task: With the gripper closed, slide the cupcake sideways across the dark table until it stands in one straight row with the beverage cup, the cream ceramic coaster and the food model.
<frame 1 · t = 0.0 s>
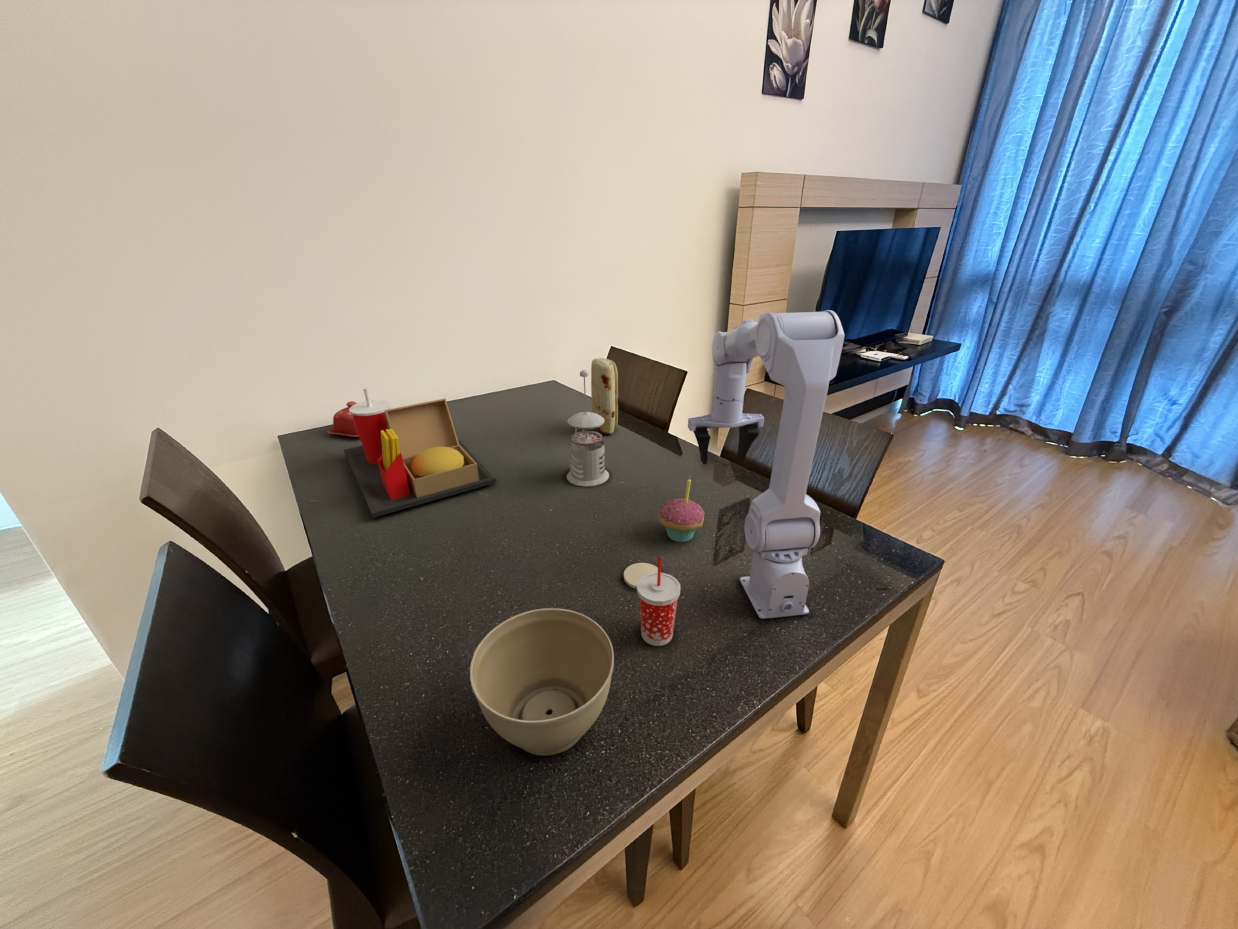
hand: (722, 460, 105), 10 cm above the table, tool pointing down, fingers open, 7 cm apart
food model: (605, 431, 144), on the table
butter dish: (358, 431, 144), on the table
fast food meal: (416, 471, 124), on the table
coaster: (642, 577, 89), on the table
beverage cup: (656, 635, 78), on the table
french press: (587, 474, 122), on the table
planter bowl: (549, 722, 65), on the table
cupcake: (680, 536, 100), on the table
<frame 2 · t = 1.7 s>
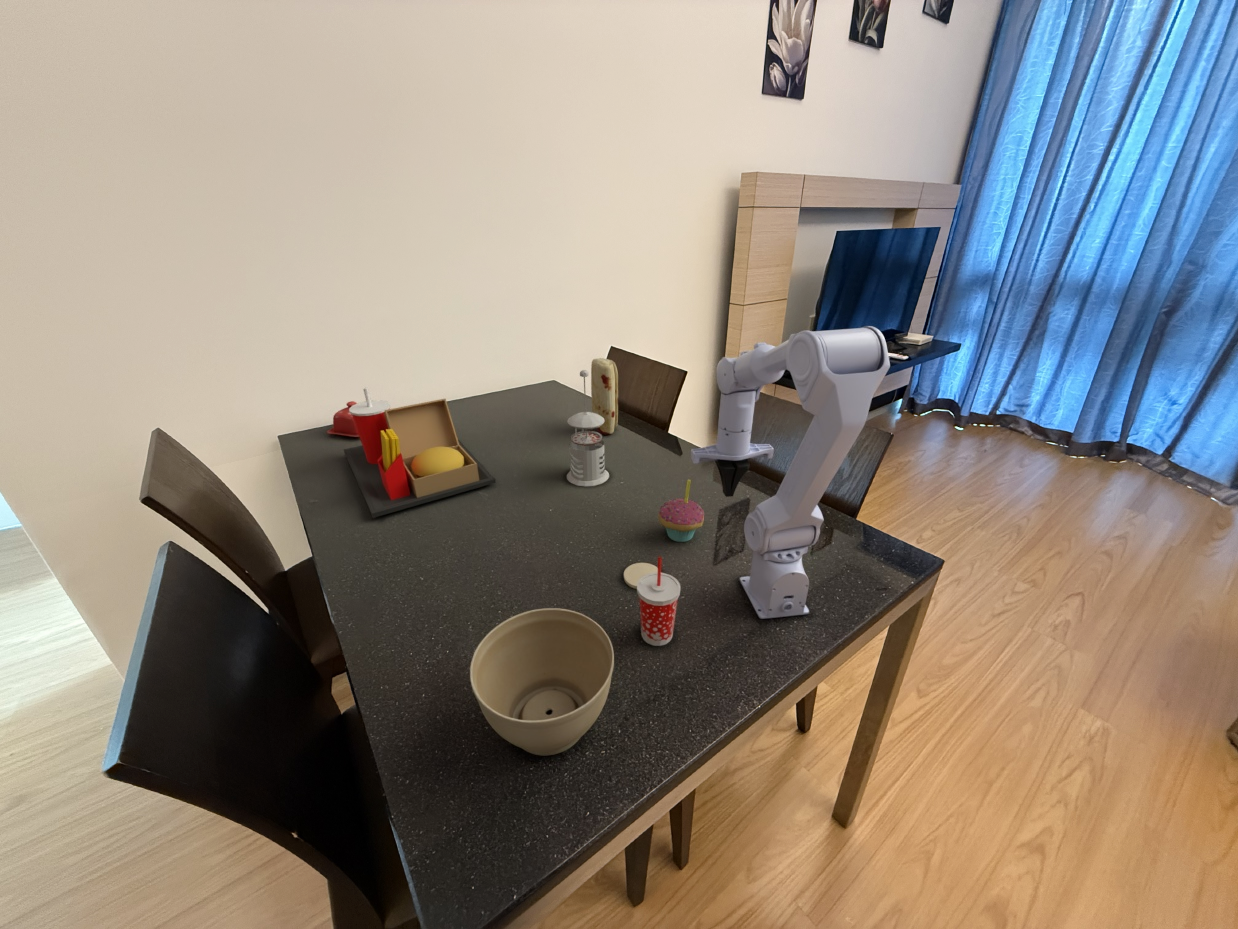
hand: (727, 494, 97), 8 cm above the table, tool pointing down, fingers closed
nothing on the table moved.
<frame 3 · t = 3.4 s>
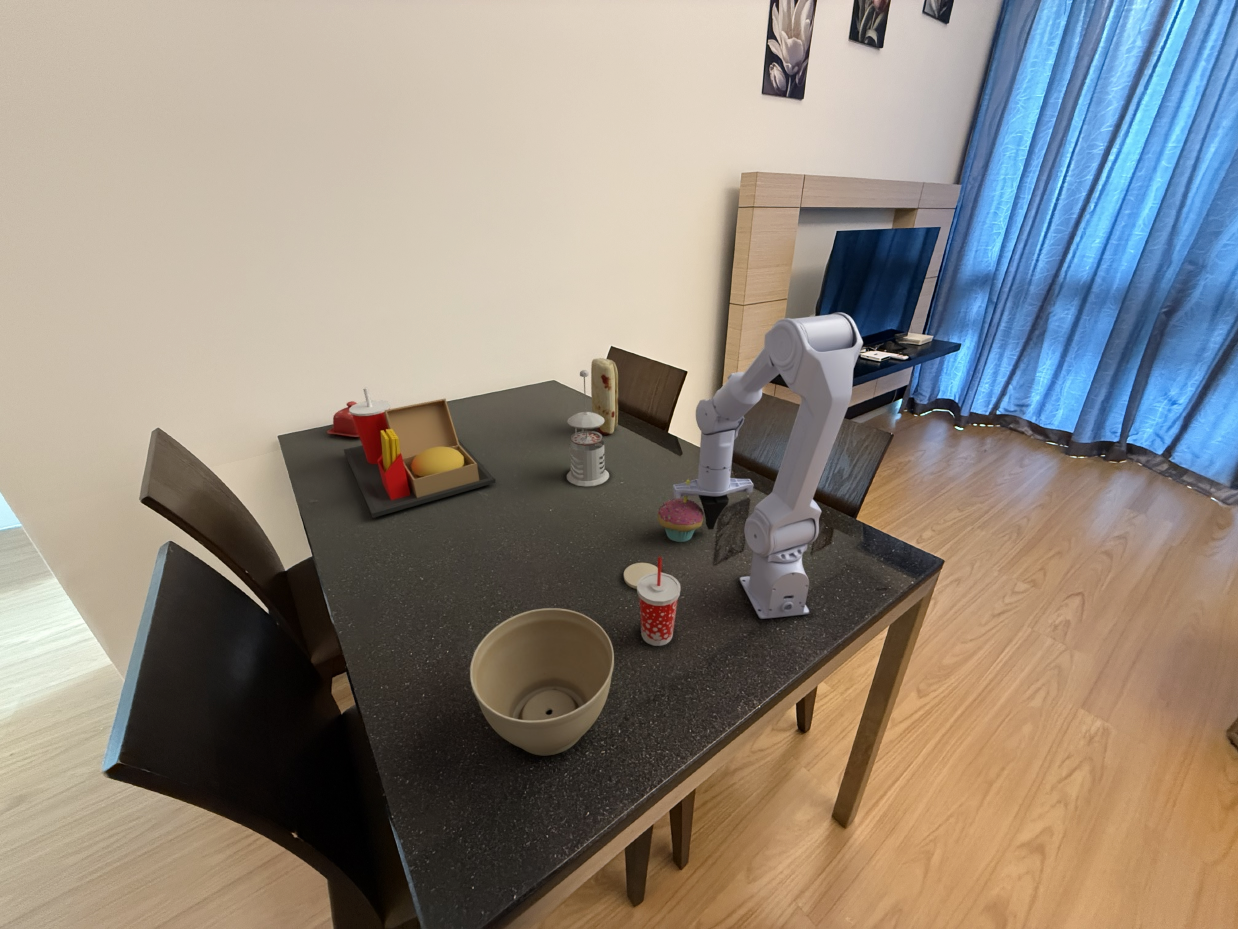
hand: (709, 526, 100), 1 cm above the table, tool pointing down, fingers closed
cupcake: (679, 536, 100), on the table, touching gripper
everything else where it was.
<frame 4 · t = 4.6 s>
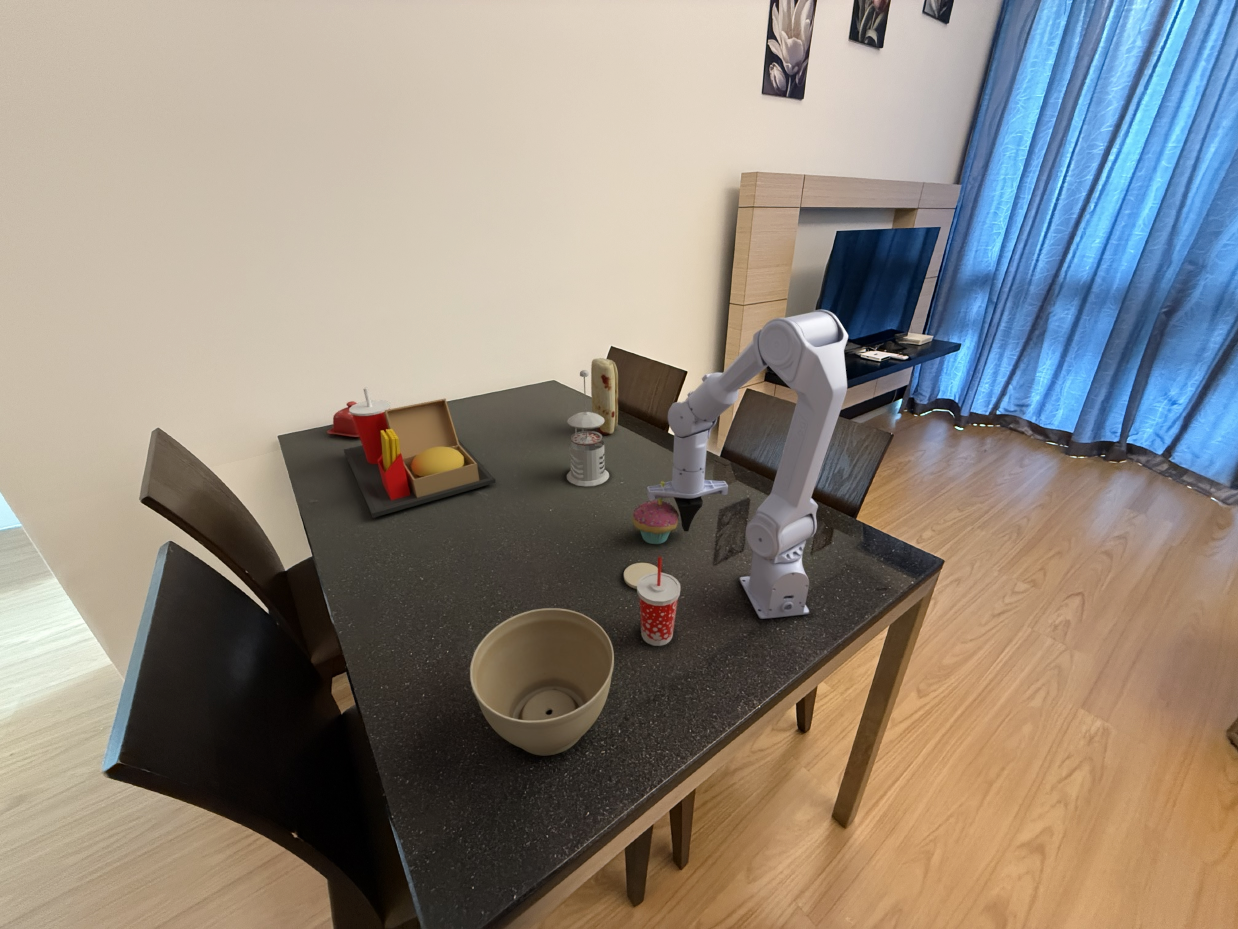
hand: (685, 528, 99), 1 cm above the table, tool pointing down, fingers closed
cupcake: (655, 538, 99), on the table, touching gripper
everything else where it was.
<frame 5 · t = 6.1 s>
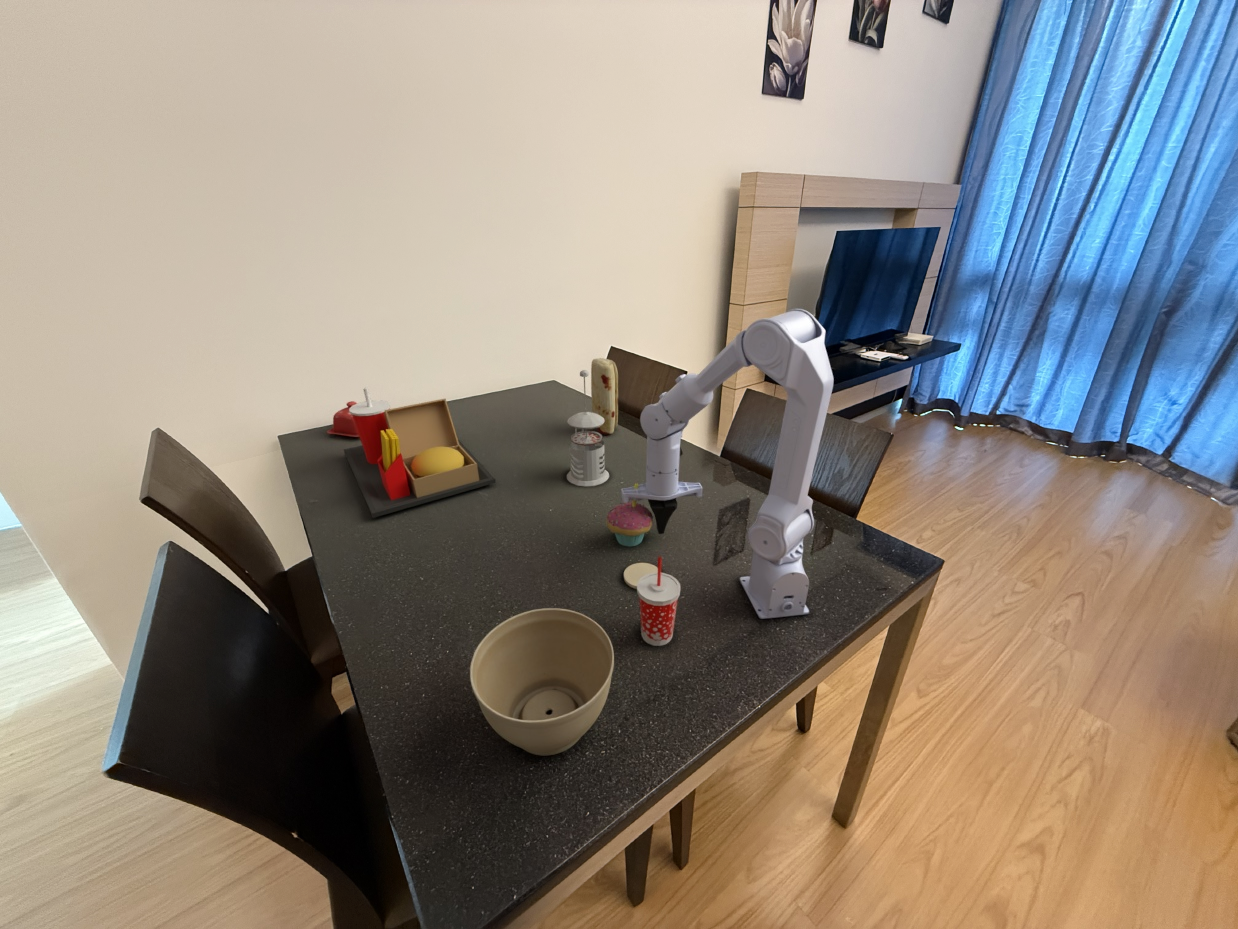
hand: (660, 530, 99), 1 cm above the table, tool pointing down, fingers closed
cupcake: (629, 540, 99), on the table, touching gripper
everything else where it was.
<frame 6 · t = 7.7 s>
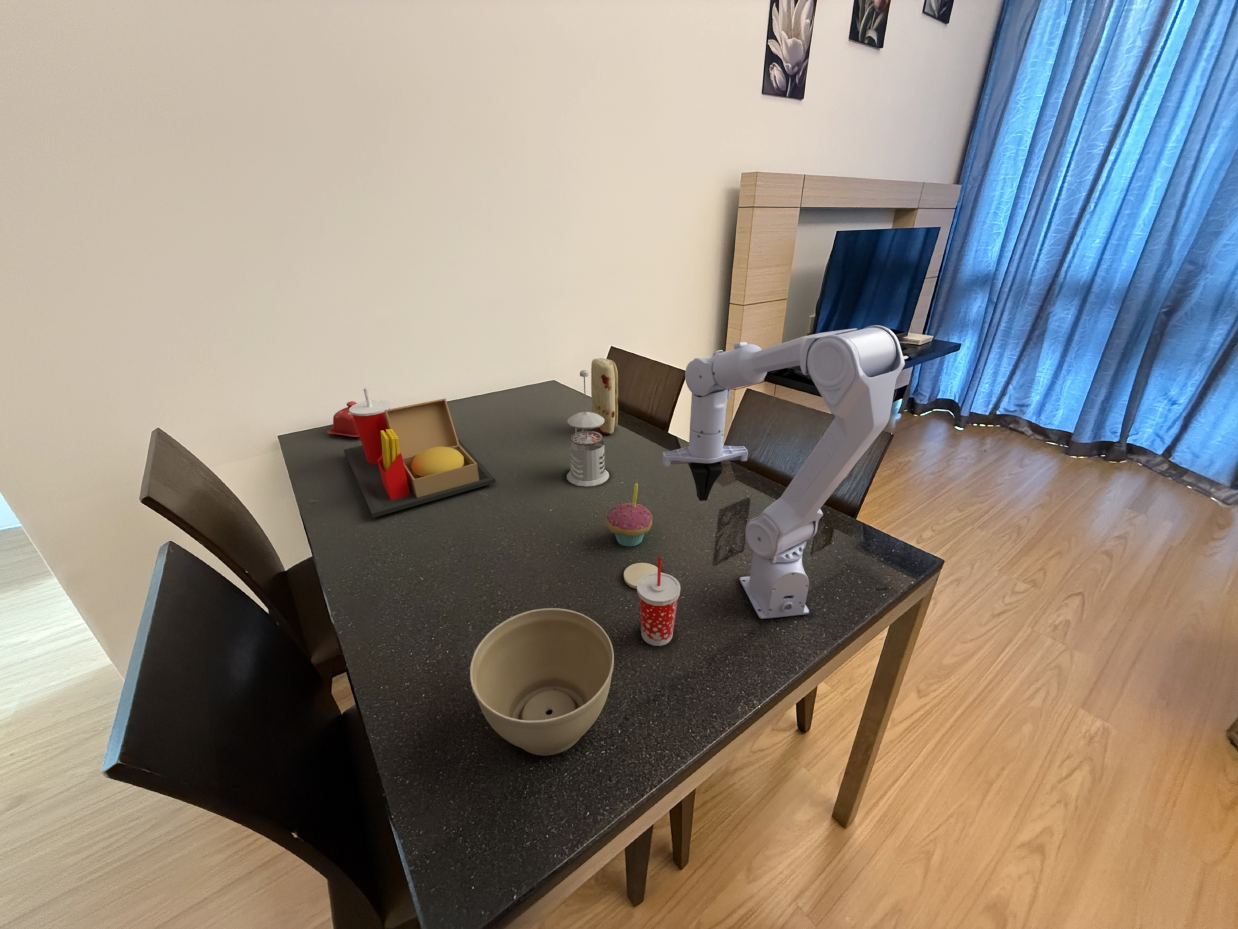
hand: (702, 497, 94), 9 cm above the table, tool pointing down, fingers closed
cupcake: (629, 540, 99), on the table
everything else where it was.
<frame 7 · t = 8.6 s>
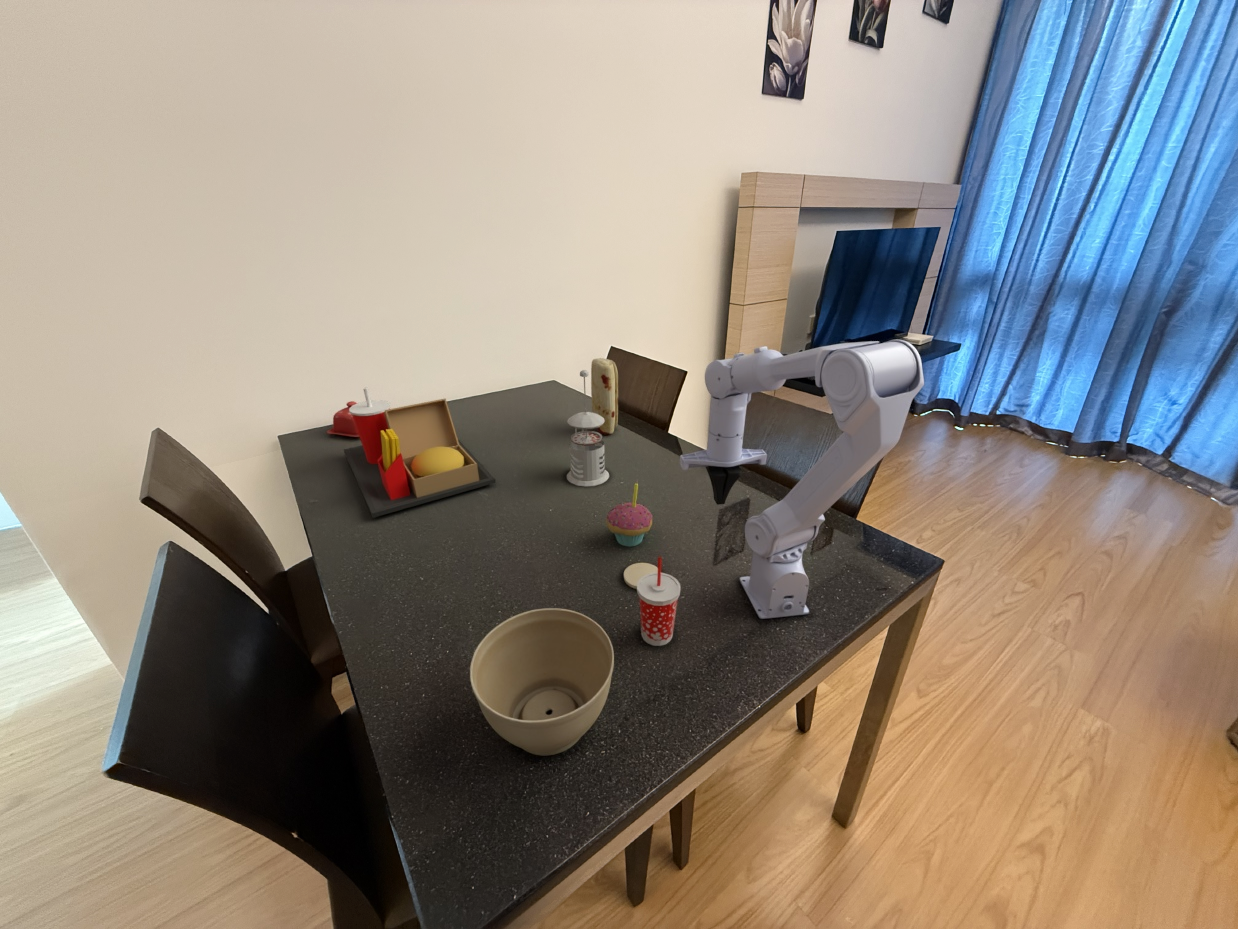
hand: (719, 501, 93), 9 cm above the table, tool pointing down, fingers closed
nothing on the table moved.
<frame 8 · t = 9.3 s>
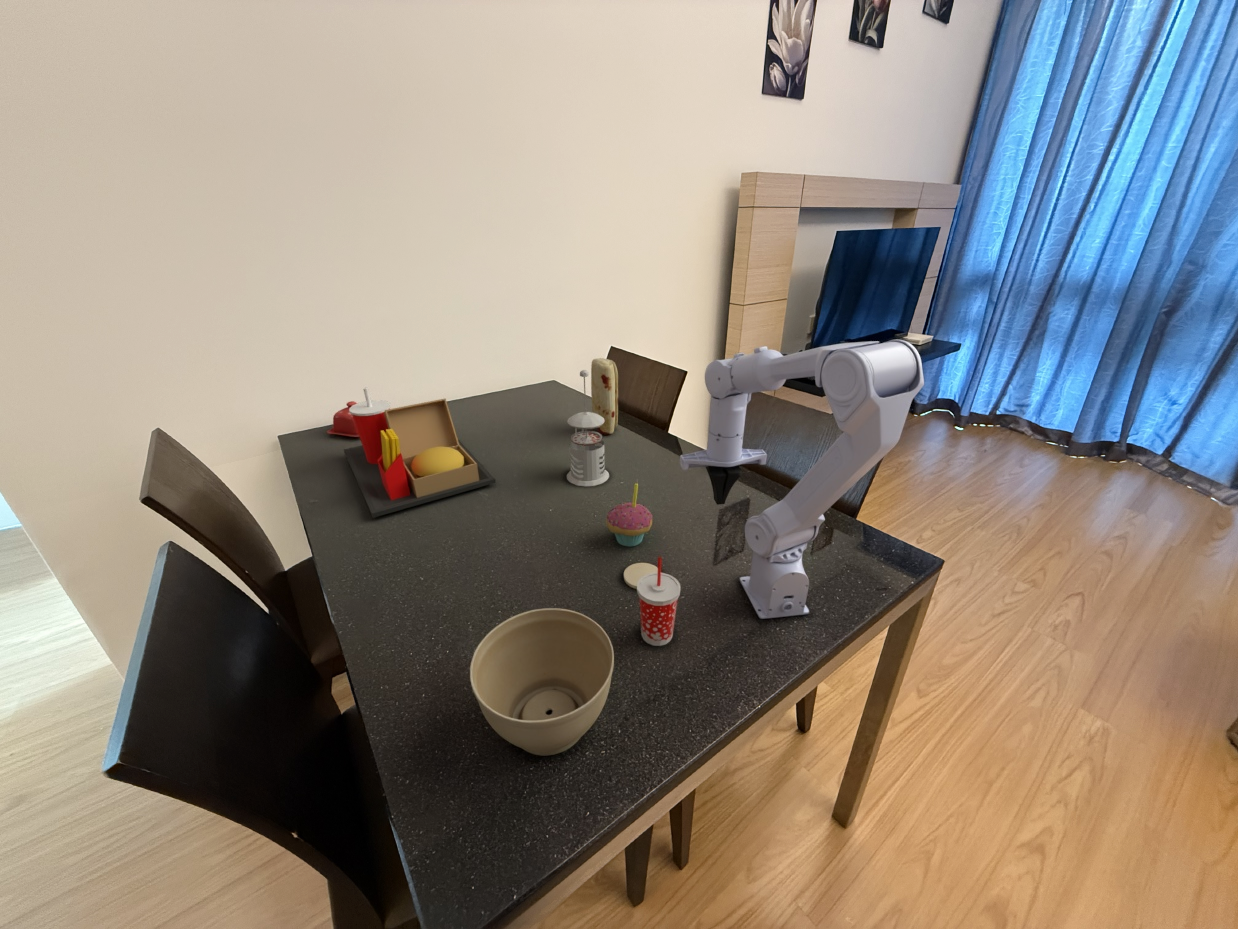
hand: (719, 501, 93), 9 cm above the table, tool pointing down, fingers closed
nothing on the table moved.
at the end: cupcake 0.6 cm from the target spot, on the table; cupcake tilted 0°; beverage cup moved 0.2 cm from its start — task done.
